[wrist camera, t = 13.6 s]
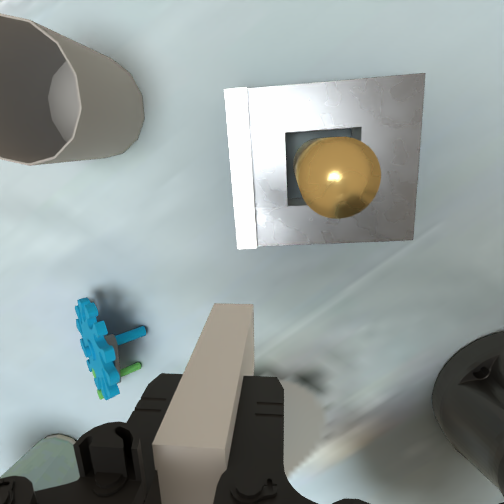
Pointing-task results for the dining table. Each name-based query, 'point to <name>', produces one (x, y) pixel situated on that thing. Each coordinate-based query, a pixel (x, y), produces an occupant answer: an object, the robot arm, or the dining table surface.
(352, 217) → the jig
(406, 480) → the dining table surface
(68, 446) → the disposable coffee cup
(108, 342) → the gear
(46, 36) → the cup
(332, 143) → the brass cylinder peg
